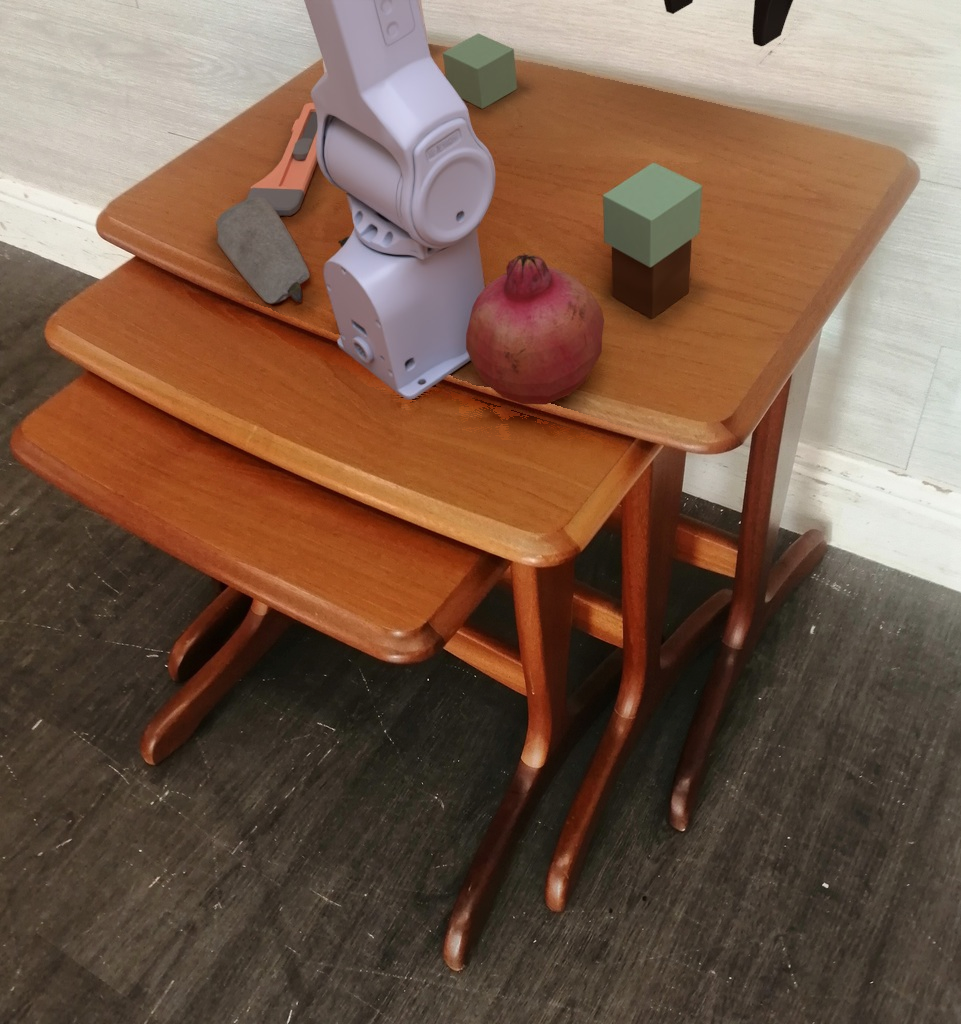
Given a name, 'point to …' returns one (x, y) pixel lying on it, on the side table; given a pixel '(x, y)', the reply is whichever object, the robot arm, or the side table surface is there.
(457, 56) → the green block
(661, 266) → the dark brown block
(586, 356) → the fruit
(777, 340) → the side table surface
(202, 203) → the side table surface
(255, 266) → the stone
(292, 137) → the utility knife
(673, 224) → the sage green cube
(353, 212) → the robot arm
